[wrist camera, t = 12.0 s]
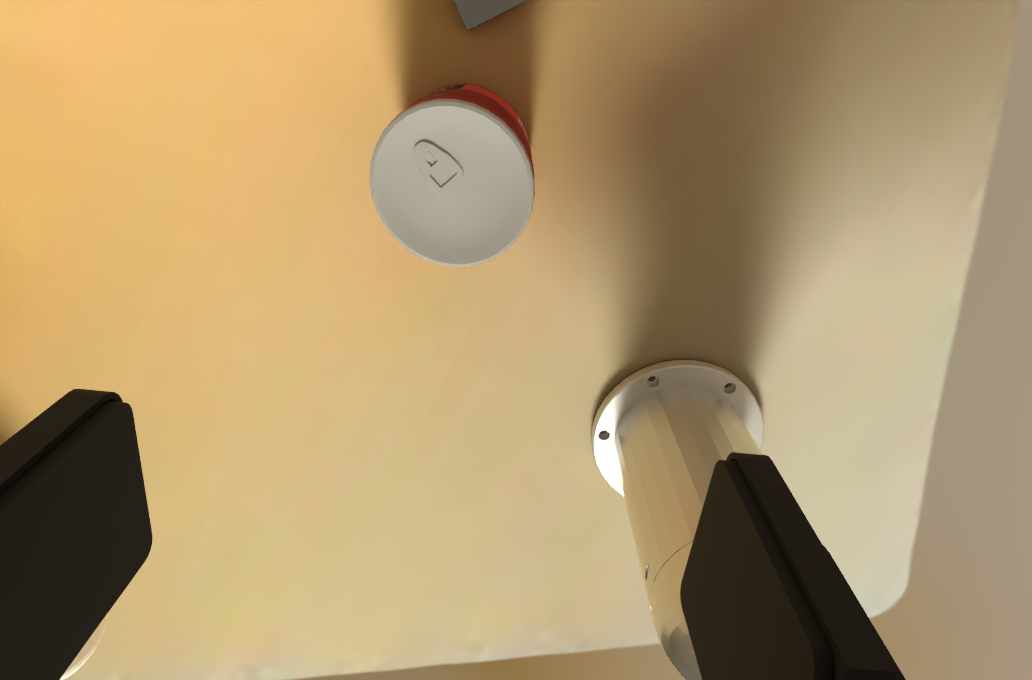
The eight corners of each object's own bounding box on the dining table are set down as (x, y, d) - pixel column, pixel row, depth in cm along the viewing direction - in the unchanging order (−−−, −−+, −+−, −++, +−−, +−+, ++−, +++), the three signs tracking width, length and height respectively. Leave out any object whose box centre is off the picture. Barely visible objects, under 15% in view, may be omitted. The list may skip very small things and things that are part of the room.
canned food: (445, 54, 38) (420, 62, 28) (556, 135, 40) (569, 169, 30) (380, 164, 41) (337, 207, 31) (487, 235, 43) (478, 297, 33)
